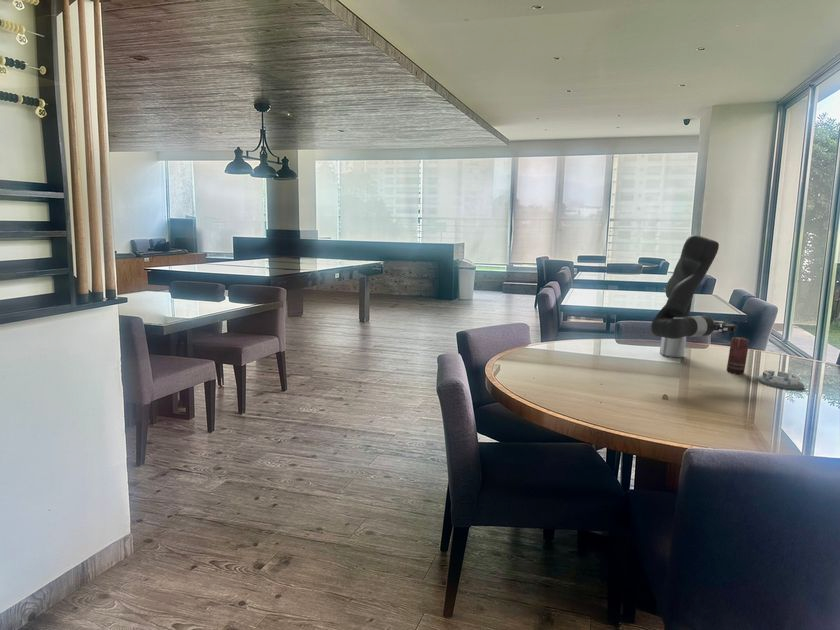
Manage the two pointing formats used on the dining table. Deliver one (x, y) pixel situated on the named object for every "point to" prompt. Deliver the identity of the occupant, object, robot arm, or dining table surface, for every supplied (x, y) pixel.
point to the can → (737, 355)
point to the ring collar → (780, 378)
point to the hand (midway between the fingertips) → (725, 324)
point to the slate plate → (784, 386)
